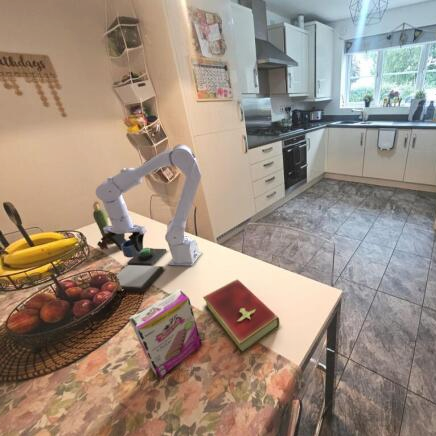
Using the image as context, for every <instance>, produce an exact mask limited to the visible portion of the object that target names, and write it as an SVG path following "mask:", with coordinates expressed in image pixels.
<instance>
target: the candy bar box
mask: <svg viewBox="0 0 436 436" xmlns="http://www.w3.org/2000/svg"><path fill="white" fill-rule="evenodd" d="M128 319H129V321H130V324H131V326H132V328H133V331H134V333H135V335H136V337H137V340H138V342H139V345H140V347H141V349H142V352H143V353H144V356H145V358H146V360H147V363H148V366H150V368H151V370H152V372H153V373H154V374H155V376H156V377H157V378H158V380H160V379H161V378H163V377H164V376H166V375H167V374H168V373H169V372H170V371H171V370H173V369H174V368H175V367H177V366H178V365H179V364H180V363H181V362H183V361H184V360H185V359H186V358H187V357H189V356H190V355H191V354H193V353H194V352H195V351H197V350H198V349H199V348H200V347H201V346H202V340H201V337H200V333H199V330H198V325H197V321H196V318H195V314H194V311H193V307H192V304H191V300H190V297H189V296H188V295H187V294H186V293H184V291H182V290H181V289H180V288H178V289H176V290H175V291H173V292H171V293H169V294H168V295H166V296H164V297H162V298H161V299H159V300H157V301H156V302H153V303H152V304H151V305H149V306H147V307H145V308H143V309H142V310H140V311H138V312H136V313H134V314H133V315H131V316H129V317H128Z"/></svg>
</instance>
